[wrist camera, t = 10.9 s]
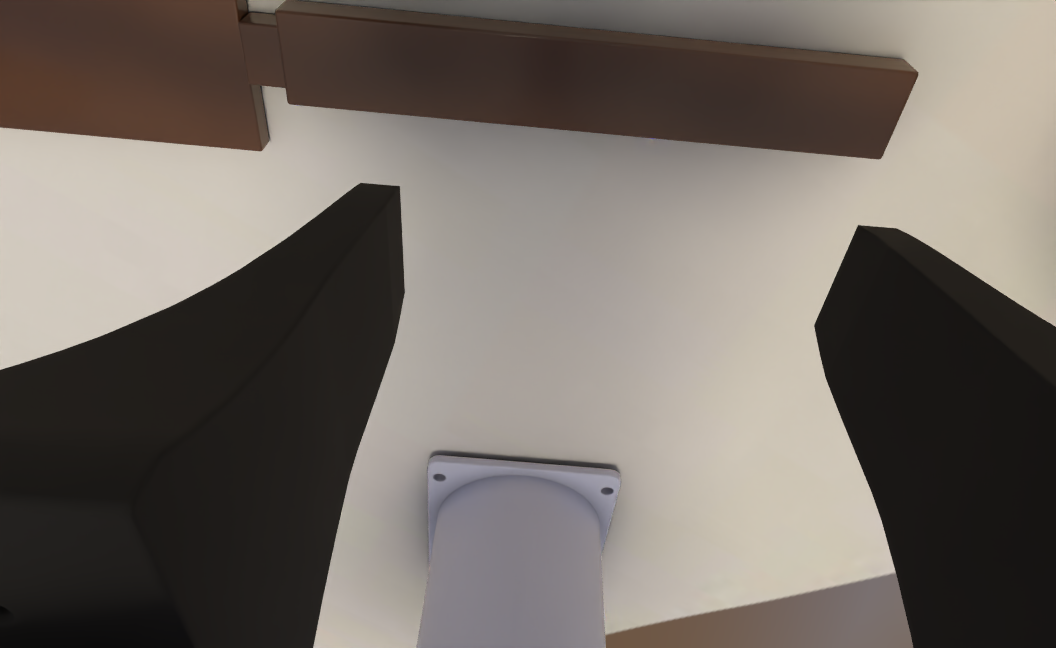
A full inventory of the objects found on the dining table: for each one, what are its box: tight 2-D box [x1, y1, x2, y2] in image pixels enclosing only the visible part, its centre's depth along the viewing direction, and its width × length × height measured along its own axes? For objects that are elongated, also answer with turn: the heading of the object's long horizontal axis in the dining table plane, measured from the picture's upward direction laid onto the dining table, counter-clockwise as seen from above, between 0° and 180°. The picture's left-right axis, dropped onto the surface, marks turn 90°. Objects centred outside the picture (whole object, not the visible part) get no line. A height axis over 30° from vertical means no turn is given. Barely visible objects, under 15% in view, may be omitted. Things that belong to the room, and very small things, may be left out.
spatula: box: [0, 0, 918, 159], centre depth 18 cm, size 6×26×1 cm, turn 85°
